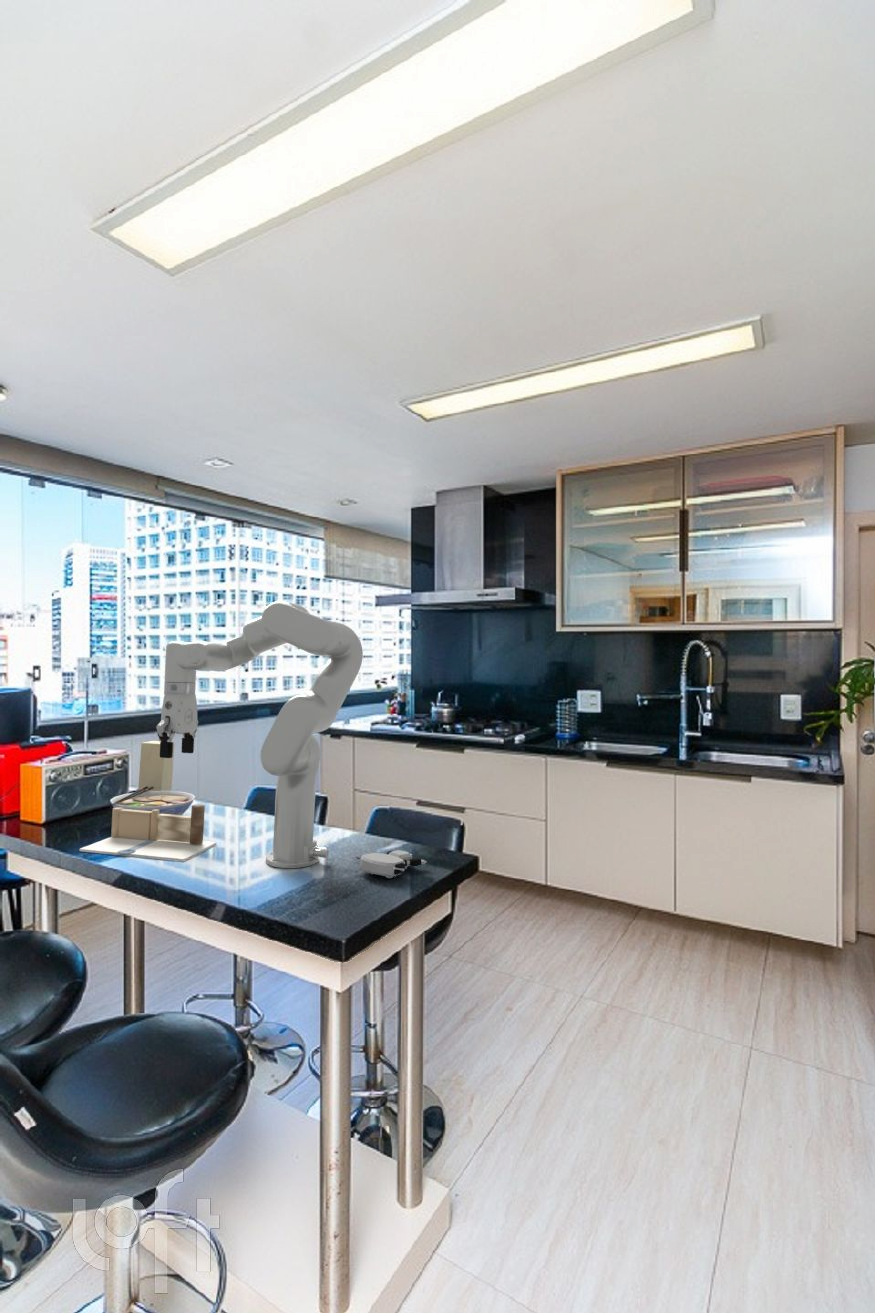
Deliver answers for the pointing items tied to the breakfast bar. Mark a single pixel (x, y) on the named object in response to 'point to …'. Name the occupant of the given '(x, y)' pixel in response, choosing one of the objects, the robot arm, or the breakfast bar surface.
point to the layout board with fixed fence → (143, 838)
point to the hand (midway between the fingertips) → (177, 755)
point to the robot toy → (388, 862)
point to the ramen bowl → (155, 801)
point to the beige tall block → (155, 768)
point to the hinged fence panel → (182, 826)
